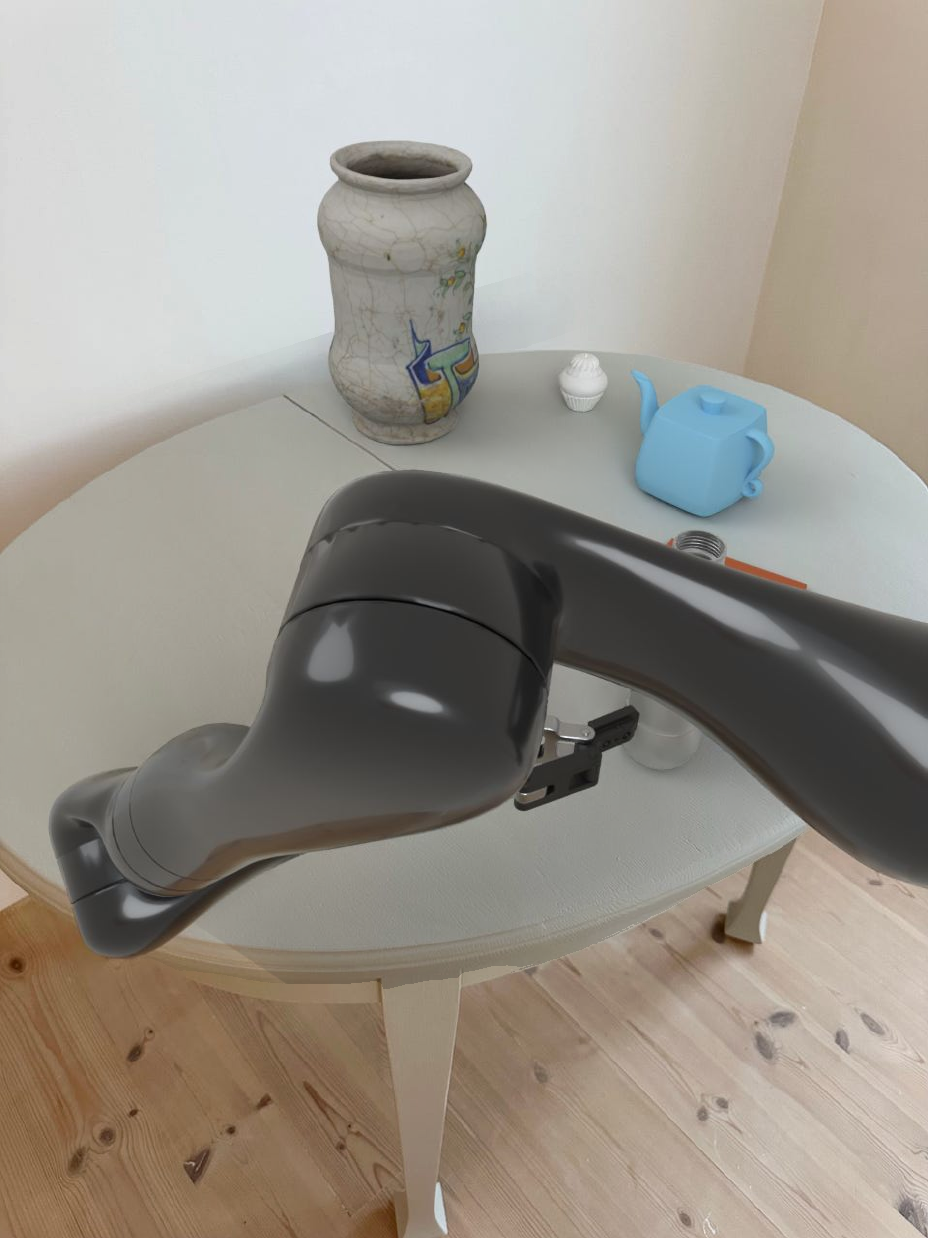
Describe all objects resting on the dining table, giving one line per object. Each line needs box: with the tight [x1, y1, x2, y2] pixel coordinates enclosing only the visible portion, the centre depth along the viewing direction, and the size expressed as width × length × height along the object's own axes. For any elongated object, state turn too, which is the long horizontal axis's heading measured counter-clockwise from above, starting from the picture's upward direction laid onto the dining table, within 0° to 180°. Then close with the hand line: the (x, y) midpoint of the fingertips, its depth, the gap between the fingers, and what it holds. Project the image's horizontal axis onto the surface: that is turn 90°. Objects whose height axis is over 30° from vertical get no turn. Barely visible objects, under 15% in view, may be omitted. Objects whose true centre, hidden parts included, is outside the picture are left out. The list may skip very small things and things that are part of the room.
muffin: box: [557, 352, 609, 413], centre depth 118 cm, size 6×6×7 cm
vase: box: [316, 140, 488, 445], centre depth 107 cm, size 18×18×30 cm
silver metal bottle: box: [621, 529, 728, 771], centre depth 70 cm, size 6×7×20 cm
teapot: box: [630, 370, 775, 517], centre depth 103 cm, size 12×18×12 cm
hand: (599, 678), depth 67 cm, fingers open, 8 cm apart
